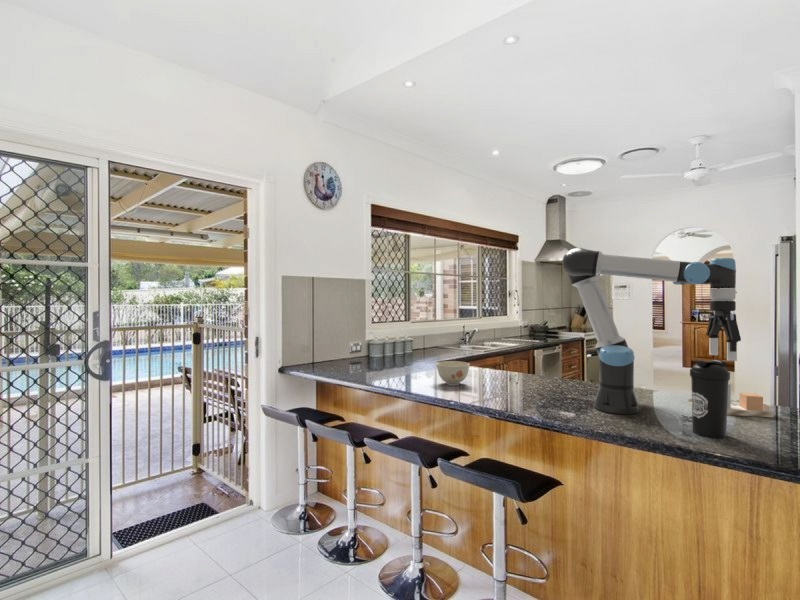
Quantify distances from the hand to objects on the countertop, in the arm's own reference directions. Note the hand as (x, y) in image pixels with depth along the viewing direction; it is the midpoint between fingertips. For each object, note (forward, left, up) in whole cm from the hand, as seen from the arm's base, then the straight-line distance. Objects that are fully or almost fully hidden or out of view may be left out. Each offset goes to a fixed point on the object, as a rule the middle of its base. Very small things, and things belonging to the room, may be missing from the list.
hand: (722, 357), depth 157 cm
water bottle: (-16, -29, -20) cm, 39 cm away
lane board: (+4, +4, -20) cm, 21 cm away
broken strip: (+6, +8, -20) cm, 22 cm away
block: (+9, 0, -18) cm, 20 cm away
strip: (+6, 0, -20) cm, 21 cm away
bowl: (-103, +24, -20) cm, 107 cm away
